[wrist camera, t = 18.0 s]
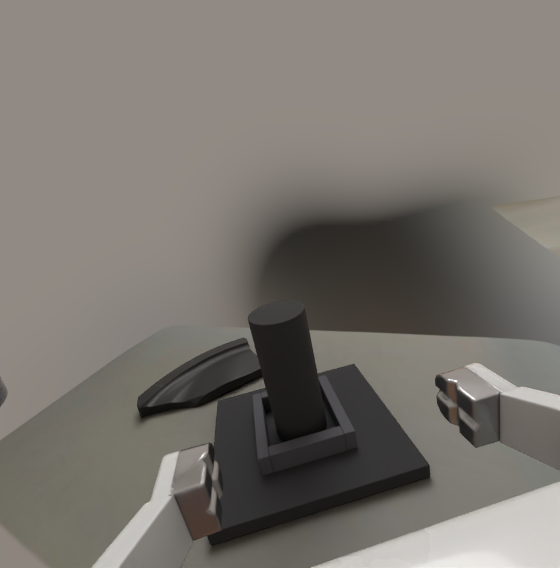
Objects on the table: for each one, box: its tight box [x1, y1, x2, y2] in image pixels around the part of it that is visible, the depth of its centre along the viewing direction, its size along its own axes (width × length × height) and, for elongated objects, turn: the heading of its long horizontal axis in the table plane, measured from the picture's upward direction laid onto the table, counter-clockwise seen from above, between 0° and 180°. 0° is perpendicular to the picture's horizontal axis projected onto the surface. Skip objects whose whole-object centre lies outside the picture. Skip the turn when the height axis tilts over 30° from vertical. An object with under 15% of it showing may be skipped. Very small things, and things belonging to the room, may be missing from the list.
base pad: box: [207, 364, 430, 545], centre depth 23 cm, size 14×12×2 cm
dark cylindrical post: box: [248, 300, 327, 442], centre depth 22 cm, size 4×4×10 cm
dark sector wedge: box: [137, 338, 262, 417], centre depth 33 cm, size 8×14×2 cm, turn 114°
